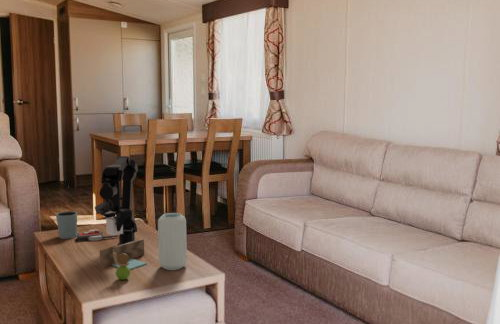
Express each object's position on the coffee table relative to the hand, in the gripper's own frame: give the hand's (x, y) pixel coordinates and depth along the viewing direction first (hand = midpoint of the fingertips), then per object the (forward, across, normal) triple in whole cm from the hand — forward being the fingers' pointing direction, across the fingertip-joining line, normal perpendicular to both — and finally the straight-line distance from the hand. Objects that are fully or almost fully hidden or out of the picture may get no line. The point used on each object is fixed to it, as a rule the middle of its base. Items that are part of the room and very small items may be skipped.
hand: (114, 230), depth 221 cm
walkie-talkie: (+13, -33, +11) cm, 37 cm away
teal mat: (+12, +13, -2) cm, 18 cm away
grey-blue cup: (+12, -46, +4) cm, 48 cm away
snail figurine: (+13, +24, -14) cm, 31 cm away
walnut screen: (+12, +6, 0) cm, 14 cm away
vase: (+13, +29, +8) cm, 32 cm away
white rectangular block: (+2, 0, 0) cm, 2 cm away
